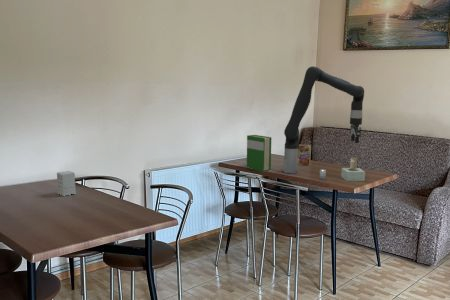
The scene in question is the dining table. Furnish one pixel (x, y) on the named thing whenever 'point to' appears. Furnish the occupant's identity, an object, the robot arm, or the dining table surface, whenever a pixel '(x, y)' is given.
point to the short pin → (322, 174)
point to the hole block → (353, 174)
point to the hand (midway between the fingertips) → (354, 141)
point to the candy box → (304, 155)
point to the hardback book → (259, 152)
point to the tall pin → (353, 164)
